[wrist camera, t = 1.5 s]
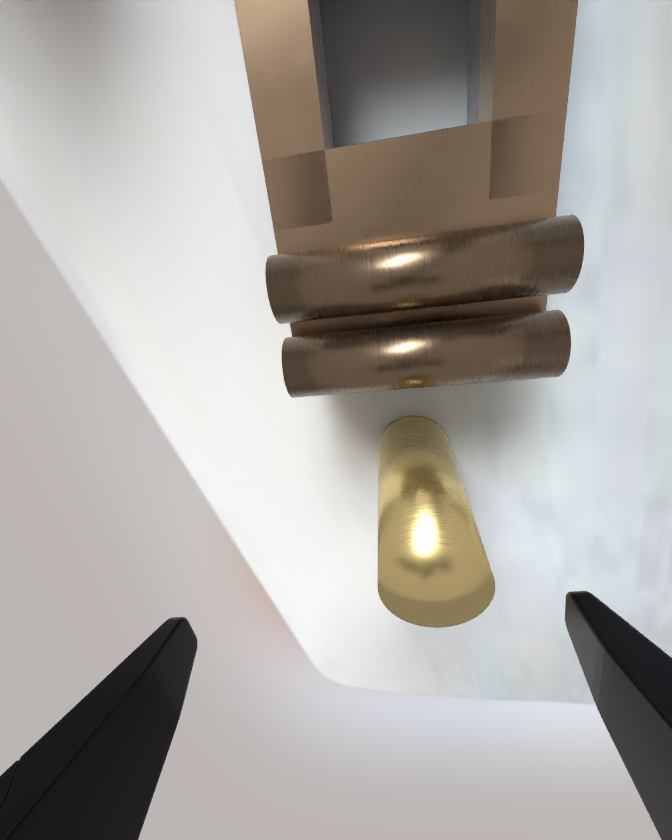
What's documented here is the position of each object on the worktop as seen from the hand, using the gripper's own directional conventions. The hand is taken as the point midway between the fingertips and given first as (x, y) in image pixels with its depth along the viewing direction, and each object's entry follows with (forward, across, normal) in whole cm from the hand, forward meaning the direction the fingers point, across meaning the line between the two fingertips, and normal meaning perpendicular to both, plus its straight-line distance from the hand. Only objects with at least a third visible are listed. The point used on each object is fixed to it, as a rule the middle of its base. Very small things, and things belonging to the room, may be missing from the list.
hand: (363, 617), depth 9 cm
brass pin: (+14, -2, +3) cm, 14 cm away
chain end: (+13, -3, -11) cm, 17 cm away
